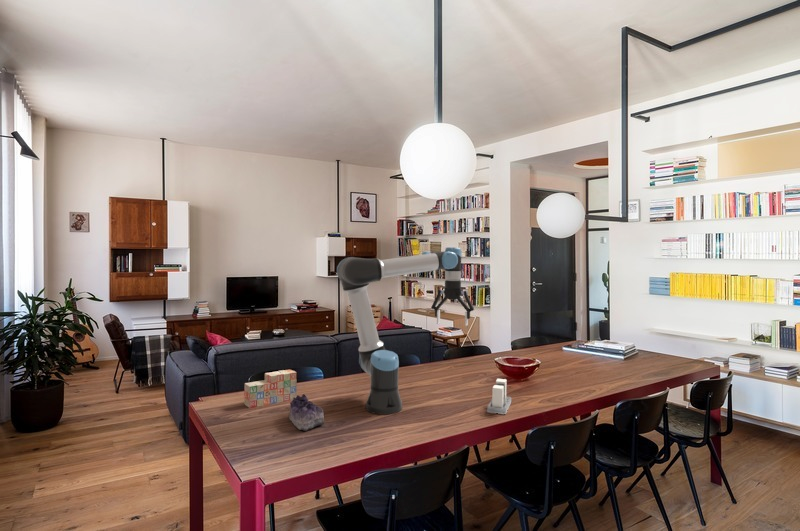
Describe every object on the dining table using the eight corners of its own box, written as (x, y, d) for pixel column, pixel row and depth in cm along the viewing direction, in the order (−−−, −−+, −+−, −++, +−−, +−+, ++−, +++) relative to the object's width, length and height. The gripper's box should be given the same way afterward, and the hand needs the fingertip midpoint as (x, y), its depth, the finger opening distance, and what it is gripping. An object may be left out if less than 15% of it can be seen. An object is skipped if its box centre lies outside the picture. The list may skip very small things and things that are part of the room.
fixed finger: (492, 411, 196) (492, 387, 196) (494, 407, 201) (494, 384, 201) (501, 412, 195) (502, 388, 195) (503, 408, 200) (504, 385, 199)
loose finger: (506, 402, 207) (506, 379, 207) (504, 405, 202) (505, 382, 202) (497, 400, 208) (497, 378, 208) (495, 404, 204) (495, 381, 203)
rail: (505, 414, 193) (505, 409, 193) (487, 412, 195) (487, 407, 195) (511, 401, 209) (511, 396, 209) (494, 399, 212) (494, 394, 212)
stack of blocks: (249, 408, 196) (249, 379, 196) (244, 404, 201) (244, 376, 201) (296, 399, 210) (296, 371, 209) (290, 395, 215) (290, 368, 214)
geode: (278, 418, 186) (281, 392, 187) (305, 416, 193) (308, 391, 193) (297, 432, 169) (300, 404, 170) (326, 430, 176) (329, 403, 177)
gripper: (480, 280, 222) (479, 325, 222) (429, 278, 230) (429, 321, 231) (477, 281, 215) (476, 327, 215) (425, 279, 223) (424, 324, 224)
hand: (452, 324), depth 223 cm, fingers open, 13 cm apart
